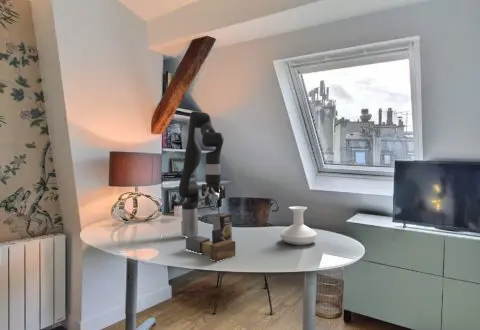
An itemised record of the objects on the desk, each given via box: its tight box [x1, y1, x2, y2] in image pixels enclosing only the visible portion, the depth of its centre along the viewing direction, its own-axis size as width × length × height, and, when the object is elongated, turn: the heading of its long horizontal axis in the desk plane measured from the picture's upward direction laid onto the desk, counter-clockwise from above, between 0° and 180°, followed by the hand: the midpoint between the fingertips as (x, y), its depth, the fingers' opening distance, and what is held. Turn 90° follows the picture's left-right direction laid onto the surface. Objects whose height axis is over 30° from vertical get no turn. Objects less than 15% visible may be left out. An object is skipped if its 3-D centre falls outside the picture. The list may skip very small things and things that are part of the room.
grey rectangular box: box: [185, 235, 211, 253], centre depth 172 cm, size 11×7×7 cm, turn 49°
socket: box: [209, 240, 236, 262], centre depth 160 cm, size 5×12×7 cm, turn 139°
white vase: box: [279, 205, 318, 246], centre depth 186 cm, size 20×20×19 cm
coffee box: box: [212, 213, 233, 242], centre depth 185 cm, size 9×6×16 cm
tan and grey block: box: [201, 229, 221, 256], centre depth 165 cm, size 15×5×12 cm, turn 49°
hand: (213, 206), depth 166 cm, fingers open, 8 cm apart
